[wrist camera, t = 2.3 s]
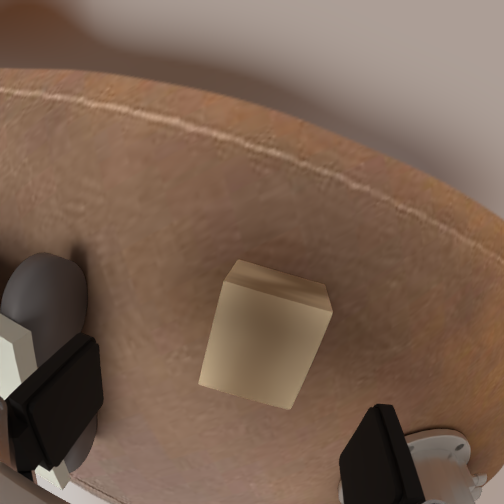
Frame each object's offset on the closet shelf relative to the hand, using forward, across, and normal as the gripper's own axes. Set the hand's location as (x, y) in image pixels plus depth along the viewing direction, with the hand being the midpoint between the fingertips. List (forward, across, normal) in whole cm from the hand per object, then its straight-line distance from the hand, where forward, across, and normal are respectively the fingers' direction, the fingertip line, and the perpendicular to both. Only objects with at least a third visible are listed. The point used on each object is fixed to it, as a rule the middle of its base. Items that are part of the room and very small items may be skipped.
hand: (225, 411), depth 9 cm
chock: (+9, -1, +1) cm, 9 cm away
